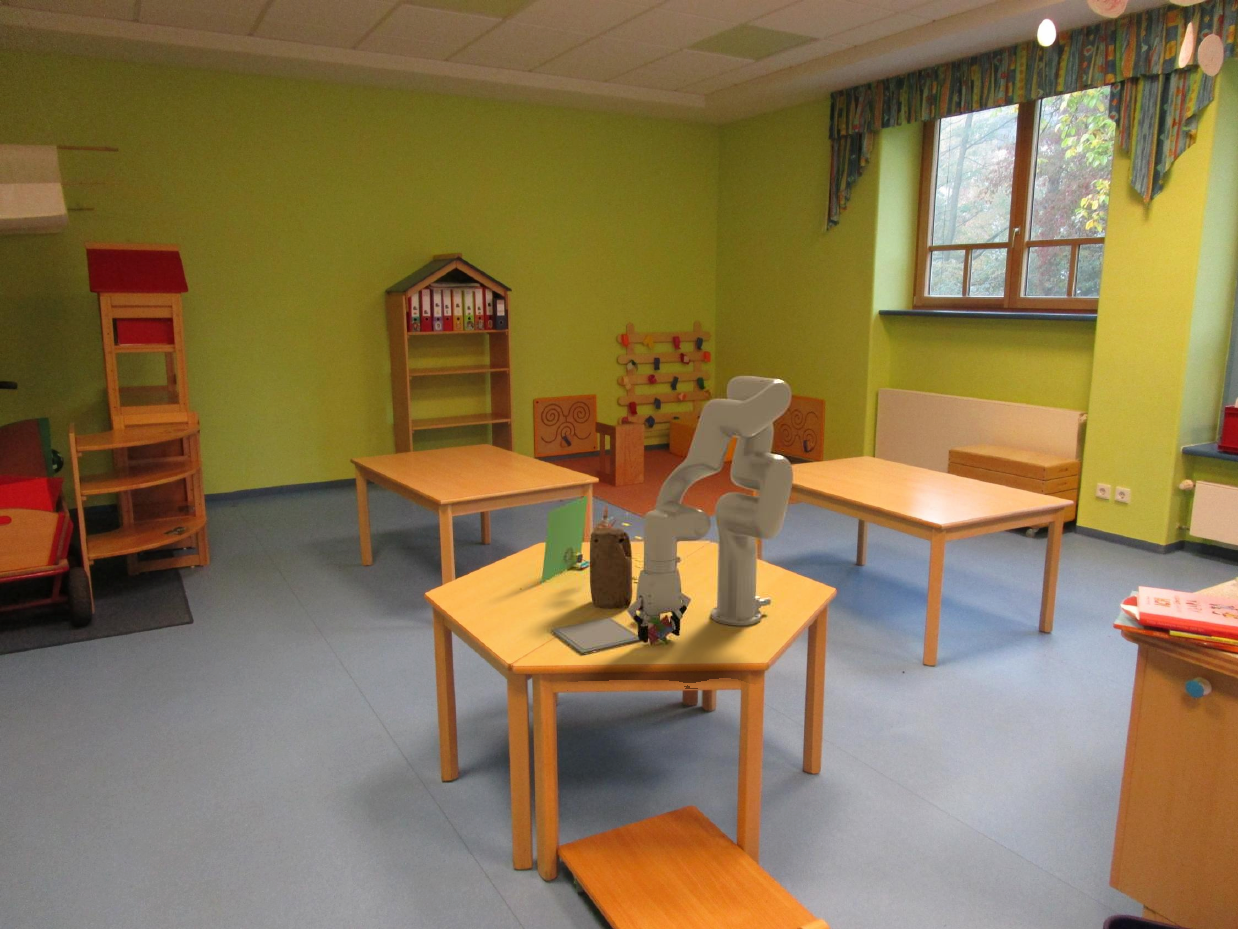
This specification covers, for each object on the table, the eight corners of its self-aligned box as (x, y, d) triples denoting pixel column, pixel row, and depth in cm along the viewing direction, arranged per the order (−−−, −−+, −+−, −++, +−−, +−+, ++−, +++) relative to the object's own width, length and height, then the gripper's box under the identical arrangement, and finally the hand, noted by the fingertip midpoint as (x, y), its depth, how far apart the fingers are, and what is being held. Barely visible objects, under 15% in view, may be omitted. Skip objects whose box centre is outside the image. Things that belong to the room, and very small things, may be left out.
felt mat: (608, 619, 219) (608, 616, 219) (642, 640, 205) (642, 637, 205) (550, 631, 211) (550, 628, 211) (582, 654, 197) (582, 652, 197)
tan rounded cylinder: (653, 613, 222) (653, 595, 221) (664, 620, 218) (664, 600, 217) (636, 617, 220) (636, 598, 219) (647, 623, 216) (647, 604, 215)
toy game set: (618, 610, 235) (629, 525, 229) (539, 584, 246) (548, 502, 240) (652, 586, 254) (664, 507, 248) (578, 563, 265) (587, 487, 259)
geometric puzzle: (650, 644, 198) (667, 612, 199) (631, 634, 203) (648, 604, 205) (669, 656, 202) (686, 625, 203) (651, 646, 207) (667, 616, 209)
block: (588, 607, 227) (587, 532, 223) (595, 597, 234) (594, 525, 230) (629, 610, 225) (629, 535, 221) (635, 600, 232) (635, 527, 228)
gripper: (682, 555, 208) (681, 625, 211) (618, 565, 199) (618, 639, 202) (701, 563, 201) (699, 635, 205) (636, 574, 193) (635, 650, 196)
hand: (659, 637), depth 203 cm, fingers closed on geometric puzzle, 8 cm apart
